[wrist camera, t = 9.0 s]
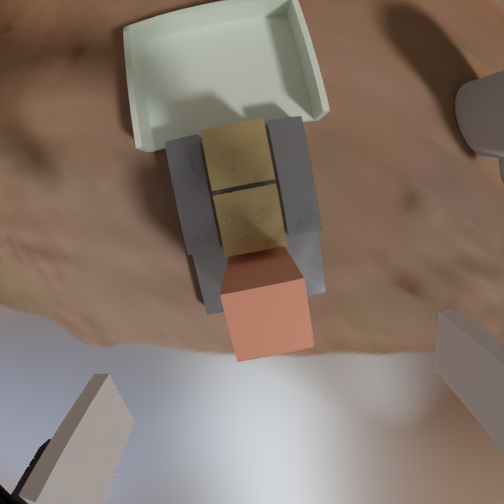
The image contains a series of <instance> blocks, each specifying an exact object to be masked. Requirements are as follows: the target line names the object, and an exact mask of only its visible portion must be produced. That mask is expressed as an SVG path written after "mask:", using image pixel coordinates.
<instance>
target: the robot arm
mask: <svg viewBox="0 0 504 504" xmlns="http://www.w3.org/2000/svg"><path fill="white" fill-rule="evenodd" d="M433 368H434V370H435V371H436V372H437V373H438V374H439V375H440V376H441V377H442V379H443V380H444V381H445V382H446V383H447V384H448V386H449V387H450V388H451V389H452V390H453V391H454V392H455V394H456V395H457V396H458V397H459V398H460V400H461V401H462V402H463V403H464V404H465V406H466V407H467V408H468V409H469V410H470V412H471V413H472V414H473V415H474V416H475V418H476V419H477V420H478V421H479V422H480V424H481V425H482V426H483V427H484V429H485V430H486V431H487V432H488V433H489V435H490V436H491V437H492V439H493V440H494V441H495V442H496V444H497V445H498V446H499V448H500V449H501V450H502V452H503V453H504V344H502V343H501V342H500V341H499V340H497V339H496V338H495V337H493V336H492V335H491V334H489V333H488V332H487V331H485V330H484V329H483V328H481V327H480V326H479V325H477V324H476V323H474V322H473V321H472V320H470V319H469V318H468V317H466V316H465V315H463V314H462V313H461V312H459V311H458V310H456V309H455V308H454V307H453V308H450V309H447V310H445V311H442V312H439V320H438V331H437V339H436V347H435V355H434V362H433ZM134 423H135V421H134V420H133V418H132V416H131V414H130V412H129V411H128V409H127V407H126V405H125V403H124V401H123V400H122V398H121V396H120V394H119V392H118V390H117V388H116V386H115V384H114V382H113V380H112V378H111V376H110V374H94V375H93V377H92V378H91V380H90V381H89V383H88V384H87V386H86V387H85V389H84V390H83V392H82V393H81V394H80V396H79V397H78V399H77V400H76V402H75V403H74V405H73V406H72V408H71V410H70V411H69V413H68V414H67V416H66V417H65V419H64V420H63V422H62V423H61V425H60V427H59V428H58V430H57V431H56V433H55V434H54V436H53V438H52V439H49V440H48V441H46V442H45V443H44V444H43V445H42V446H41V447H40V448H39V449H38V451H37V453H36V454H35V456H34V459H32V461H31V462H30V464H29V465H30V466H29V467H27V469H26V470H25V472H24V474H23V476H22V477H21V479H20V481H19V482H18V484H17V486H16V488H15V489H14V491H13V492H12V494H11V495H10V494H9V493H8V492H7V491H6V490H5V489H4V488H3V487H2V486H1V485H0V504H104V502H105V500H106V496H107V494H108V491H109V488H110V486H111V483H112V480H113V478H114V475H115V472H116V470H117V467H118V464H119V462H120V459H121V456H122V454H123V451H124V449H125V446H126V443H127V441H128V438H129V436H130V433H131V431H132V428H133V426H134Z"/></svg>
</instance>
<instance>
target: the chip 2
mask: <svg viewBox="0 0 504 504" xmlns="http://www.w3.org/2000/svg"><path fill="white" fill-rule="evenodd" d="M213 199H214V204H215V209H216V214H217V219H218V223H219V228H220V233H221V238H222V243H223V247H224V252H225V257H229V256H235V255H240V254H245V253H250V252H256V251H261V250H266V249H272V248H277V247H282V246H287V243H286V237H285V231H284V225H283V219H282V214H281V208H280V202H279V197H278V191H277V186H276V184H268V185H262V186H257V187H251V188H246V189H241V190H236V191H231V192H226V193H221V194H217V195H214V196H213Z"/></svg>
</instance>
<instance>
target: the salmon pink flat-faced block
mask: <svg viewBox="0 0 504 504" xmlns="http://www.w3.org/2000/svg"><path fill="white" fill-rule="evenodd" d="M220 297H221V301H222V305H223V309H224V313H225V317H226V320H227V324H228V328H229V332H230V336H231V339H232V343H233V347H234V350H235V354H236V358H237V361H238V362H239V361H245V360H251V359H257V358H262V357H268V356H273V355H278V354H283V353H288V352H293V351H297V350H302V349H306V348H311V347H314V341H313V334H312V326H311V319H310V312H309V305H308V298H307V291H306V285H305V278H304V277H303V275H302V273H301V272H300V270H299V268H298V267H297V265H296V264H295V262H294V260H293V259H292V257H291V256H290V254H289V252H288V251H287V249H286V248H285V246H282V247H277V248H272V249H266V250H261V251H256V252H250V253H245V254H240V255H235V256H229V257H228V261H227V266H226V270H225V274H224V279H223V283H222V288H221V292H220Z"/></svg>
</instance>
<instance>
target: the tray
mask: <svg viewBox="0 0 504 504" xmlns="http://www.w3.org/2000/svg"><path fill="white" fill-rule="evenodd" d="M123 38H124V53H125V65H126V76H127V86H128V95H129V103H130V111H131V118H132V125H133V132H134V139H135V145H136V149H140V150H143V151H146V152H149V153H151V152H155V151H158V150H162V149H166V148H165V142H167V141H171V140H175V139H179V138H183V137H187V136H191V135H195V134H198V135H199V136H200V137H201V132H200V130H203V129H207V128H212V127H217V126H222V125H227V124H232V123H237V122H242V121H248V120H254V119H260V118H263V120H264V125H266V123H267V120H274V119H281V118H288V117H296V116H301V117H302V121H303V122H308V121H317V120H320V119H321V118H322V117H323V116H324V115H326V114H327V113H328V112H329V111H330V109H329V105H328V100H327V96H326V92H325V88H324V84H323V80H322V76H321V73H320V69H319V65H318V62H317V58H316V55H315V51H314V48H313V44H312V41H311V38H310V35H309V31H308V28H307V25H306V22H305V19H304V16H303V13H302V10H301V7H300V4H299V2H298V0H225V1H219V2H213V3H208V4H203V5H198V6H194V7H189V8H185V9H181V10H177V11H173V12H170V13H166V14H163V15H159V16H156V17H152V18H149V19H146V20H143V21H140V22H137V23H134V24H131V25H129V26H126V27H123Z"/></svg>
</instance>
